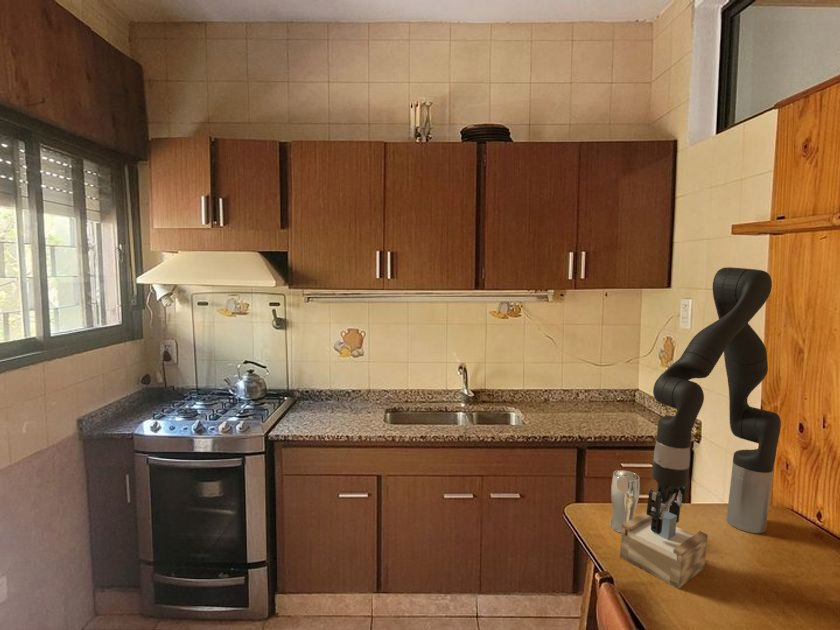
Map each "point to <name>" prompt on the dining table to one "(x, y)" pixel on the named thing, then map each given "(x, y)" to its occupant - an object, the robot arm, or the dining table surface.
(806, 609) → the dining table surface
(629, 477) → the beer glass
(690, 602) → the dining table surface
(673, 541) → the cover plate
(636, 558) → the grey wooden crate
